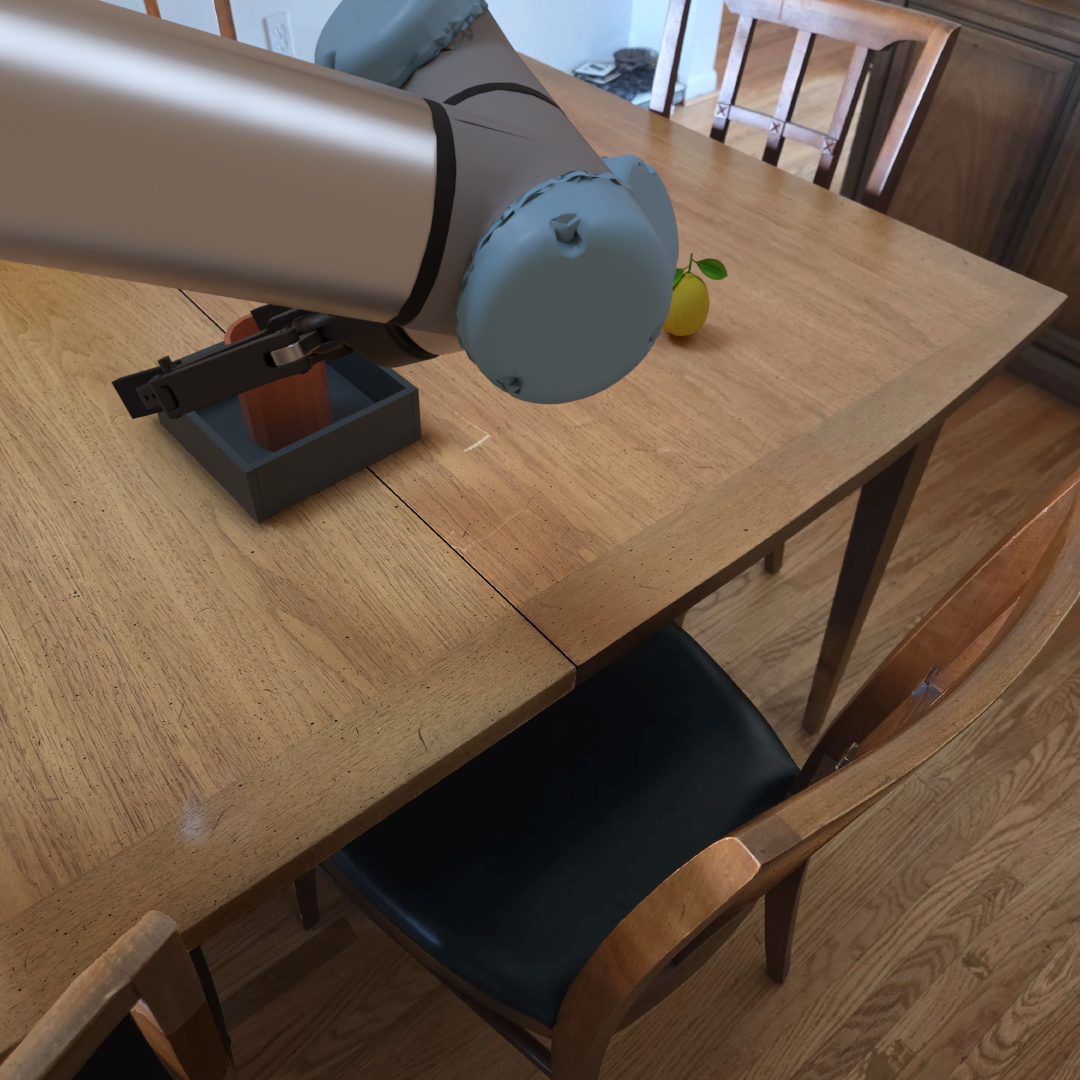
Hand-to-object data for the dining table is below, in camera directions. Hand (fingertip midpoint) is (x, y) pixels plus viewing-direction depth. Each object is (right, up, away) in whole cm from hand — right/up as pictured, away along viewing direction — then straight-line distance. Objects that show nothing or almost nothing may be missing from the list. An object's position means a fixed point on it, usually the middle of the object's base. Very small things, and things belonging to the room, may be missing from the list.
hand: (198, 359), depth 67 cm
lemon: (+40, +9, +35) cm, 54 cm away
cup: (+1, -2, +21) cm, 21 cm away
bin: (+1, -3, +21) cm, 22 cm away
